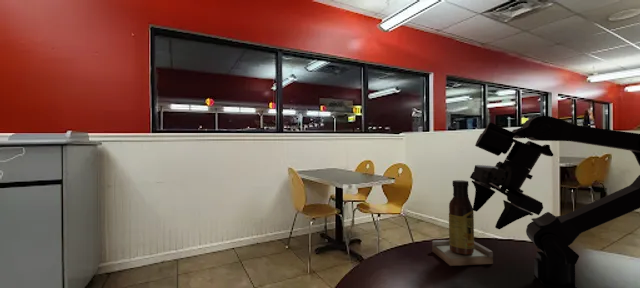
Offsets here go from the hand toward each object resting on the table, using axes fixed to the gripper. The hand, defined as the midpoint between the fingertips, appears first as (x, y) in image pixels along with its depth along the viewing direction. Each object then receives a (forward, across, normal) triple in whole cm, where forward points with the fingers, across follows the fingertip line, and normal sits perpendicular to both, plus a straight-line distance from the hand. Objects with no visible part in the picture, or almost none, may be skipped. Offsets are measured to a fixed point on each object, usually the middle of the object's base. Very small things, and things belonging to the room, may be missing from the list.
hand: (485, 219), depth 71 cm
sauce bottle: (+12, -5, +4) cm, 14 cm away
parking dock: (+14, -6, +5) cm, 16 cm away
